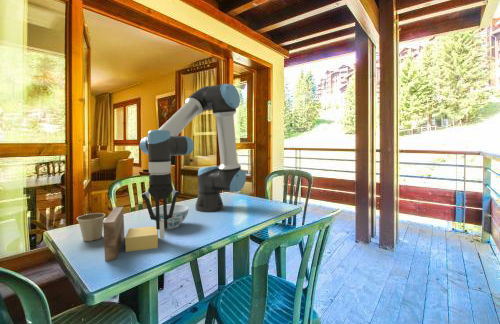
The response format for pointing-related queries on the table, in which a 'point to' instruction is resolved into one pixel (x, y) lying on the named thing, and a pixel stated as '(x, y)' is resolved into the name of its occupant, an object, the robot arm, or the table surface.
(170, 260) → the table surface
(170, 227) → the chinaware
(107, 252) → the walnut board
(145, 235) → the mustard block
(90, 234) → the flower pot
